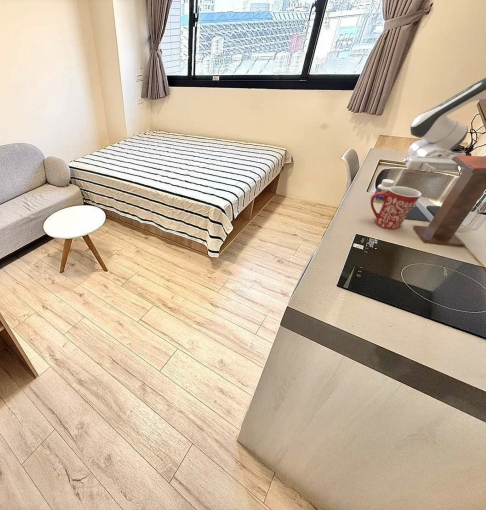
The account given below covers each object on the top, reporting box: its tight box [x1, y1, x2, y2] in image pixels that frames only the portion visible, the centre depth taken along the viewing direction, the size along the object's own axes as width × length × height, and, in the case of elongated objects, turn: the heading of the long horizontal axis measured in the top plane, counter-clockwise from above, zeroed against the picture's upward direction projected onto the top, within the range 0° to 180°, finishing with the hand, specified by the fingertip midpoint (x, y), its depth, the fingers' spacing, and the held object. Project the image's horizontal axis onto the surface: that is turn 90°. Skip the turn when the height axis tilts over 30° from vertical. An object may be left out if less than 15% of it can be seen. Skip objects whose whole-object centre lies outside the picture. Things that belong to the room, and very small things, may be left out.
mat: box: [404, 205, 431, 223], centre depth 109 cm, size 12×12×1 cm
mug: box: [370, 185, 422, 230], centre depth 101 cm, size 13×9×14 cm
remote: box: [414, 197, 441, 223], centre depth 108 cm, size 4×18×3 cm, turn 159°
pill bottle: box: [373, 178, 395, 204], centre depth 117 cm, size 5×5×9 cm
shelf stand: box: [412, 155, 486, 248], centre depth 88 cm, size 10×12×26 cm
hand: (448, 170), depth 101 cm, fingers open, 8 cm apart
